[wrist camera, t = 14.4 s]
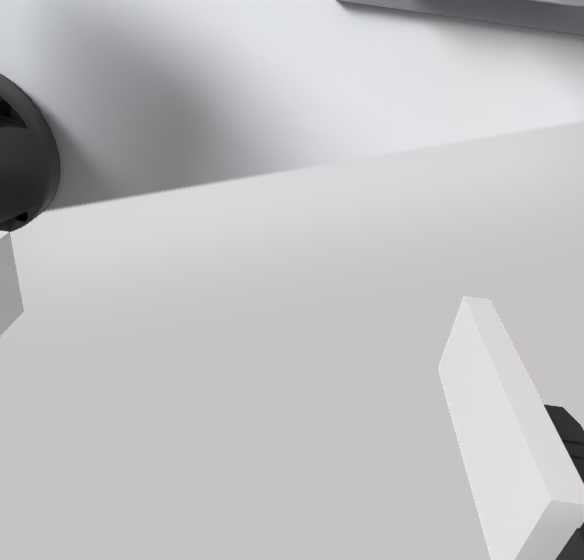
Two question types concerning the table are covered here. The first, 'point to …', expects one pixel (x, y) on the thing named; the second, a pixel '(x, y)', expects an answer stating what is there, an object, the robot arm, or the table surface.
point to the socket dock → (500, 11)
